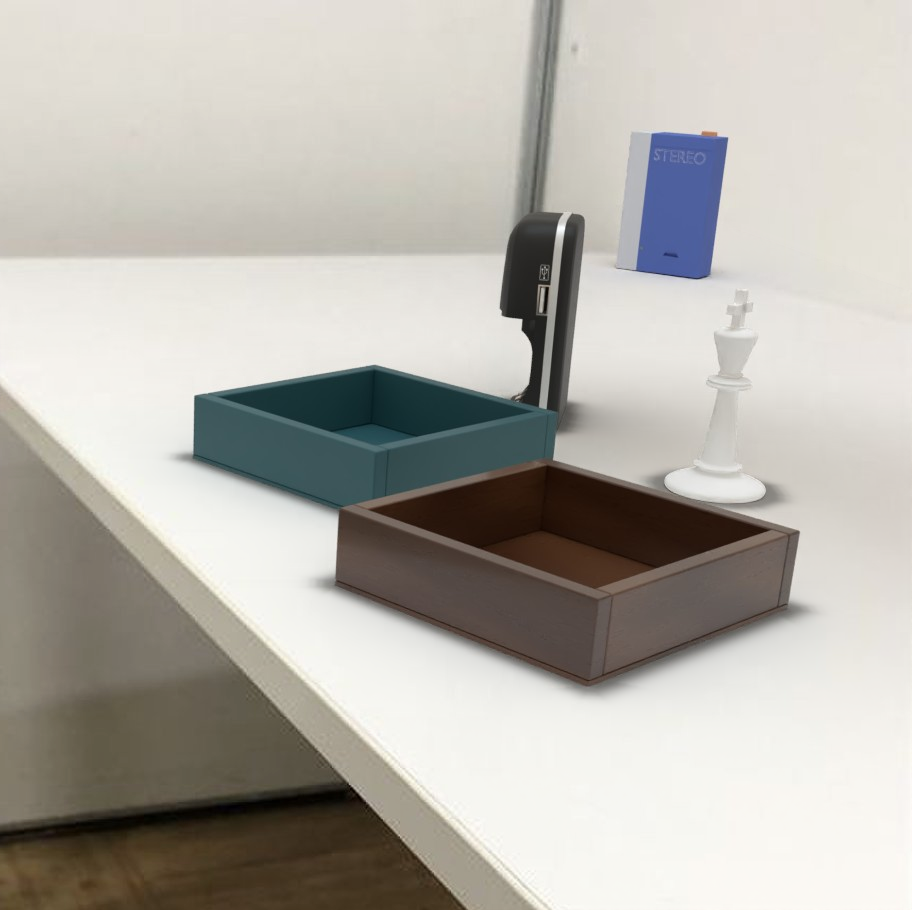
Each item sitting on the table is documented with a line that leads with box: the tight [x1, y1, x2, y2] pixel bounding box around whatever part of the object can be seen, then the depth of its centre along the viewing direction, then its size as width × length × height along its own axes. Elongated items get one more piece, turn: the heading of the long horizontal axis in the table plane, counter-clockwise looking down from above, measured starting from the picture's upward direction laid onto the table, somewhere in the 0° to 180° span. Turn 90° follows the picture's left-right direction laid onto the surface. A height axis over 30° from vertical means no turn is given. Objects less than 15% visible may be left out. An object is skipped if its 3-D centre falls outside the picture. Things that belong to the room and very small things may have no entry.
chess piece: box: [663, 288, 767, 504], centre depth 77 cm, size 5×5×10 cm
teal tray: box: [192, 364, 558, 511], centre depth 79 cm, size 13×13×4 cm
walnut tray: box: [334, 458, 801, 687], centre depth 63 cm, size 13×13×4 cm
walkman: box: [615, 129, 729, 279], centre depth 141 cm, size 8×3×12 cm, turn 53°
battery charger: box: [499, 211, 586, 431], centre depth 89 cm, size 7×4×11 cm, turn 166°
